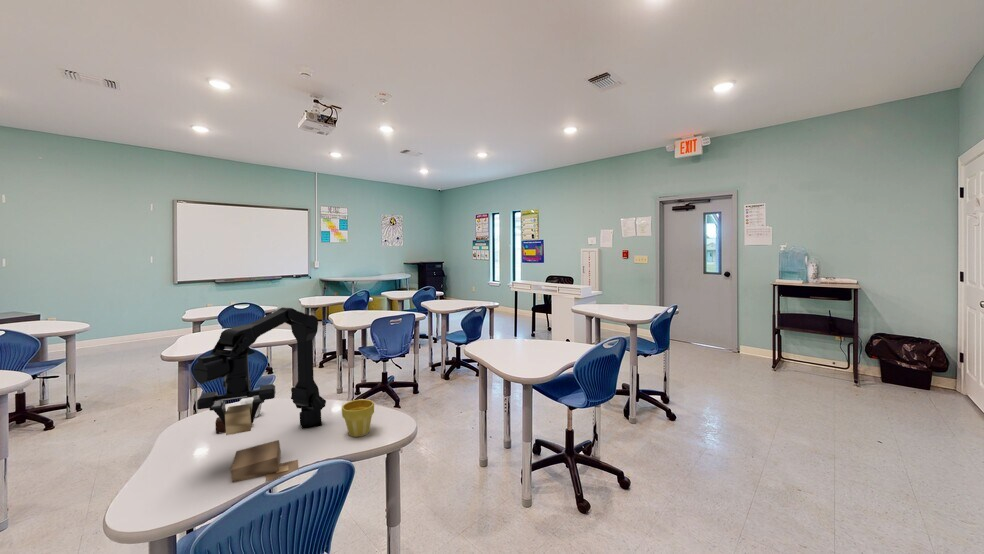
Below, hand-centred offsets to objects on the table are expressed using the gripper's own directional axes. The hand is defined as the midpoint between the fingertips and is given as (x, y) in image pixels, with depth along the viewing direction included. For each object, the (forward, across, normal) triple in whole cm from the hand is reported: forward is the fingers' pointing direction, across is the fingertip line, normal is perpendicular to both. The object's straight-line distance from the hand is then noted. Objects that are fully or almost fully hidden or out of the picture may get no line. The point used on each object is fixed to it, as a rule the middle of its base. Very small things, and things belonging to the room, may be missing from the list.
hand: (239, 424), depth 116 cm
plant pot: (+12, -34, -5) cm, 36 cm away
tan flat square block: (+11, -5, +6) cm, 13 cm away
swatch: (+12, -11, +11) cm, 19 cm away
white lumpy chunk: (+12, +3, -35) cm, 37 cm away
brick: (+12, +5, -27) cm, 30 cm away
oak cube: (+1, 0, 0) cm, 1 cm away
